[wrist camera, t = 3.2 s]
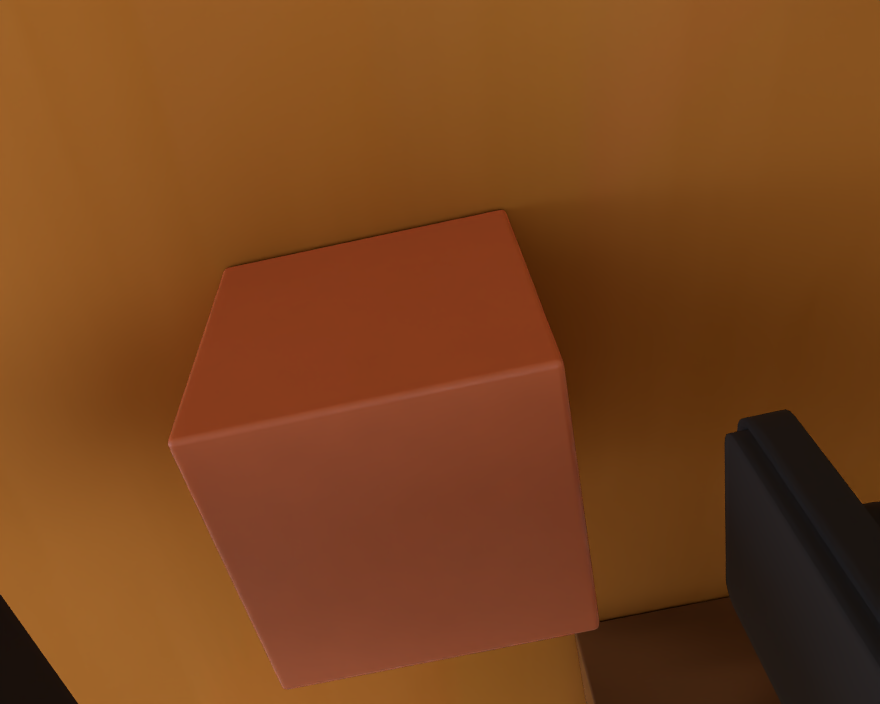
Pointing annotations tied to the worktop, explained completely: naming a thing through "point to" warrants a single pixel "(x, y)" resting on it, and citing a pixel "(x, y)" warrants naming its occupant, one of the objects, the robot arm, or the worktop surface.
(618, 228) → the worktop surface
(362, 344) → the toy cube
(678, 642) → the block stack
